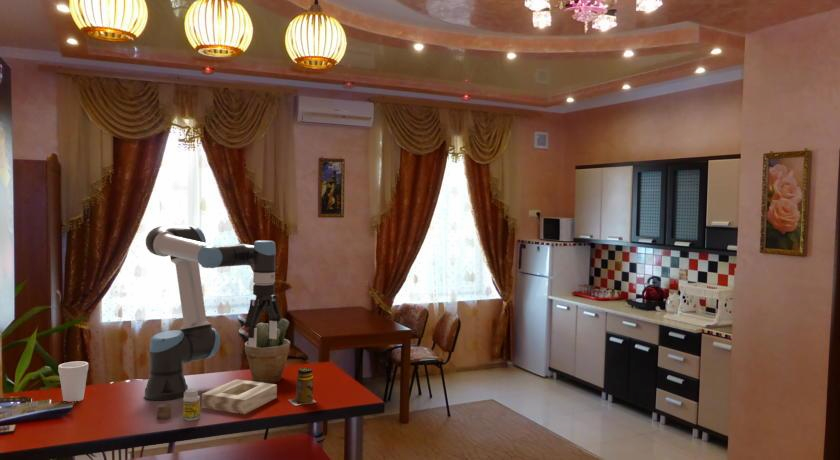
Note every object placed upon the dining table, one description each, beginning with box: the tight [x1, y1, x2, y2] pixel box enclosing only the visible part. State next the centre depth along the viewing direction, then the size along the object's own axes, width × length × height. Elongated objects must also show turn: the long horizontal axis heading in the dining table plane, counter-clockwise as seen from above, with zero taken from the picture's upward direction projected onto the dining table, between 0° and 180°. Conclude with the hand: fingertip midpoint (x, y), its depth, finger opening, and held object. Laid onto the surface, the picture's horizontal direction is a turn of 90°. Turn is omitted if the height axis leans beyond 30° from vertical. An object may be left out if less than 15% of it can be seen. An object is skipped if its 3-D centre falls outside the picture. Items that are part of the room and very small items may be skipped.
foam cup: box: [57, 360, 89, 403], centre depth 221 cm, size 10×9×13 cm
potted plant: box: [244, 318, 291, 384], centre depth 251 cm, size 18×19×25 cm
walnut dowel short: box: [156, 403, 172, 420], centre depth 205 cm, size 4×4×4 cm
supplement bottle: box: [182, 388, 201, 422], centre depth 204 cm, size 5×5×10 cm
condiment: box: [288, 367, 317, 406], centre depth 224 cm, size 7×8×12 cm
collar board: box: [201, 378, 278, 415], centre depth 222 cm, size 18×20×5 cm
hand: (262, 342), depth 217 cm, fingers open, 13 cm apart
